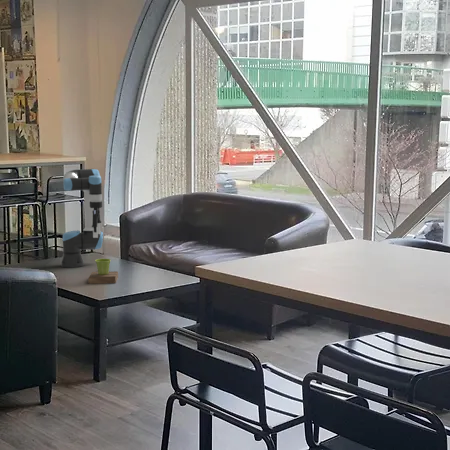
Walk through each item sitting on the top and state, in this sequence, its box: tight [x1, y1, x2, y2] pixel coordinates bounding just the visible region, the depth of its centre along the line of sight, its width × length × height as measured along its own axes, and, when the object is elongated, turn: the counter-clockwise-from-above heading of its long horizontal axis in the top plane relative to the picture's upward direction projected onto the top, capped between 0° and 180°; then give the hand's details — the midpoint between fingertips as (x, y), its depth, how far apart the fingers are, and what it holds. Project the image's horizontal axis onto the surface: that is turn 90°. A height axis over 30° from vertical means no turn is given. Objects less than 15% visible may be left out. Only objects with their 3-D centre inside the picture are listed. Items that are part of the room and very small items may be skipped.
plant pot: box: [94, 258, 112, 275], centre depth 427 cm, size 9×9×9 cm
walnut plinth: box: [88, 270, 119, 285], centre depth 428 cm, size 16×16×4 cm
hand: (96, 235), depth 431 cm, fingers open, 13 cm apart
